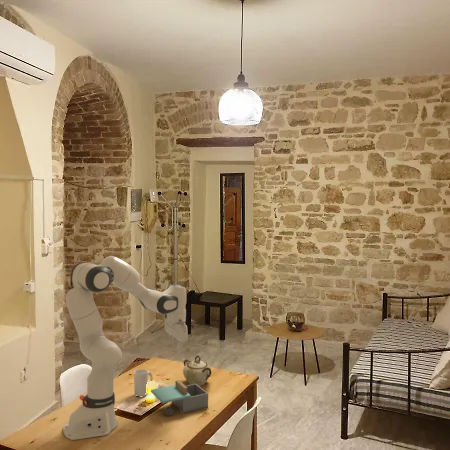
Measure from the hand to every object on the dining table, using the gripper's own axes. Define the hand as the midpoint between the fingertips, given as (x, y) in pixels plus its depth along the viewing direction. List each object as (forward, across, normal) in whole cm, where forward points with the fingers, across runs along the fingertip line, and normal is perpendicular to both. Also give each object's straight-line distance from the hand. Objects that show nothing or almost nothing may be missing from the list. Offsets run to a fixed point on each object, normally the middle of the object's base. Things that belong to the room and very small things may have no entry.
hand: (175, 345), depth 234 cm
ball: (+28, -13, +8) cm, 32 cm away
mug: (+28, +14, +10) cm, 33 cm away
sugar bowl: (+27, +15, -20) cm, 37 cm away
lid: (+20, -8, +5) cm, 22 cm away
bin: (+27, -8, -5) cm, 29 cm away
